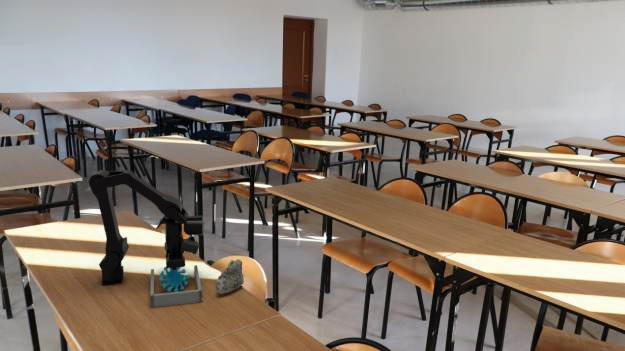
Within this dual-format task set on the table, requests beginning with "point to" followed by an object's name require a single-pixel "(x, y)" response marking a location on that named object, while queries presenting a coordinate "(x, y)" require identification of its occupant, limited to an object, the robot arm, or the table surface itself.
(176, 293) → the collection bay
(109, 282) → the robot arm
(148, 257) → the table surface
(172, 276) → the gear
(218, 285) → the mineral rock
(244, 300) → the table surface
